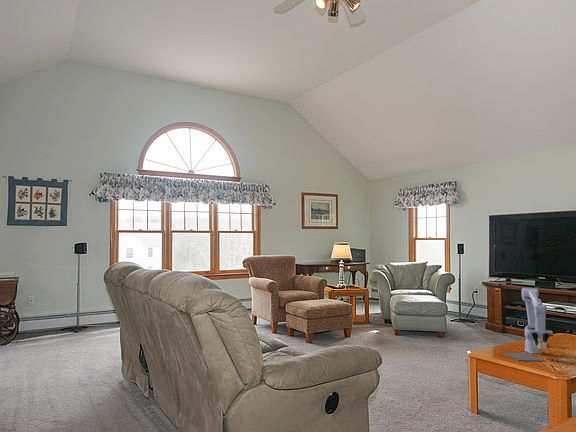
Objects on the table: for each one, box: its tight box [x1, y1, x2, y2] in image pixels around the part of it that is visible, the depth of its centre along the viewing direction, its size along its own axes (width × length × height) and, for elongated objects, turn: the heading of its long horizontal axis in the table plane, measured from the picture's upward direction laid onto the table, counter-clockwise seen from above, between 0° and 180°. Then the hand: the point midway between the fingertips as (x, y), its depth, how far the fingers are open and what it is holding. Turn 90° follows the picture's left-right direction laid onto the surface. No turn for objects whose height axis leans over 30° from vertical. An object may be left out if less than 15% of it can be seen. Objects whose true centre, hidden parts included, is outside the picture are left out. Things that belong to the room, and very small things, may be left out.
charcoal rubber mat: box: [504, 352, 544, 362], centre depth 294 cm, size 18×16×1 cm
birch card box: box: [534, 339, 548, 350], centre depth 294 cm, size 8×4×4 cm, turn 175°
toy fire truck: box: [540, 333, 554, 347], centre depth 329 cm, size 3×14×10 cm, turn 101°
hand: (540, 344), depth 294 cm, fingers closed on birch card box, 4 cm apart
